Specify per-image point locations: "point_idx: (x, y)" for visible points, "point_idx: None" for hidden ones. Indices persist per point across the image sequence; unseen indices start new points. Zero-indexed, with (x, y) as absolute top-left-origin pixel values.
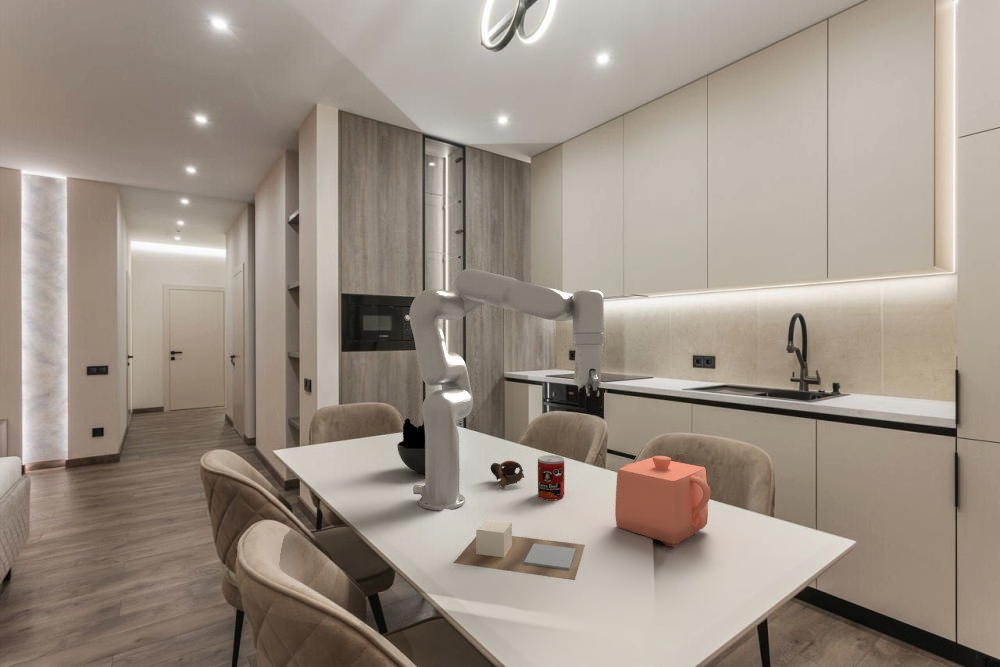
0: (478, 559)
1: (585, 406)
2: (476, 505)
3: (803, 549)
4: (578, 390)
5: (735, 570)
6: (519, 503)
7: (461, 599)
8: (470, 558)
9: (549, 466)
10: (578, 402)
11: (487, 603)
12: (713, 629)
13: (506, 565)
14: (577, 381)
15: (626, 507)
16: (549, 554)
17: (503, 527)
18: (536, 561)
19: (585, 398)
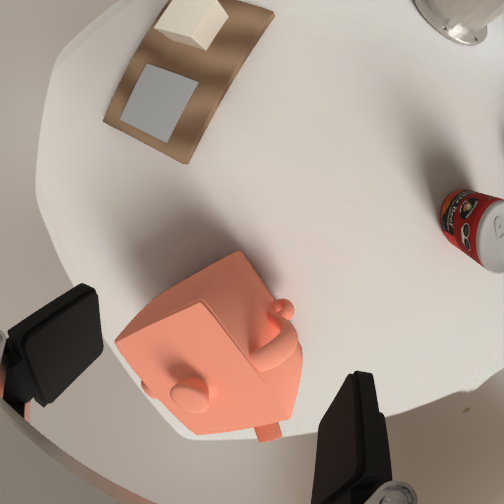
0: None
1: (67, 303)
2: (439, 53)
3: None
4: (408, 488)
5: (126, 318)
6: (440, 133)
7: (123, 12)
8: None
9: (477, 216)
10: (361, 396)
11: (109, 34)
12: (53, 224)
13: (150, 43)
14: (5, 480)
15: (206, 272)
16: (157, 99)
17: (172, 25)
18: (143, 79)
19: (27, 329)
